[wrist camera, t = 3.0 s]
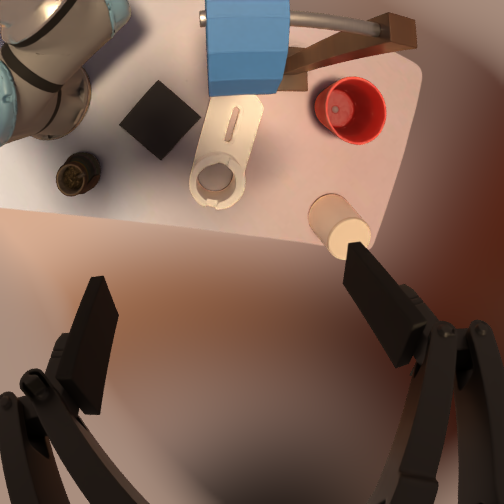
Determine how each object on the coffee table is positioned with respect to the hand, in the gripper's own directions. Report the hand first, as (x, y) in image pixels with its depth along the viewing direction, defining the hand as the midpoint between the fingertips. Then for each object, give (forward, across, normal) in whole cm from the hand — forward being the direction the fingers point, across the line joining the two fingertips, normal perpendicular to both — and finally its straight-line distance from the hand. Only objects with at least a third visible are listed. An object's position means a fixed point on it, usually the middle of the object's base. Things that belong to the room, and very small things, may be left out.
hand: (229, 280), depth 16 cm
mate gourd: (+40, -22, -1) cm, 46 cm away
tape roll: (+9, +3, +14) cm, 17 cm away
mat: (+40, -8, +5) cm, 41 cm away
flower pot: (+40, +23, +5) cm, 46 cm away
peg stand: (+41, +9, +12) cm, 43 cm away
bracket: (+40, +3, -1) cm, 40 cm away
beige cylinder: (+28, +22, -17) cm, 39 cm away
